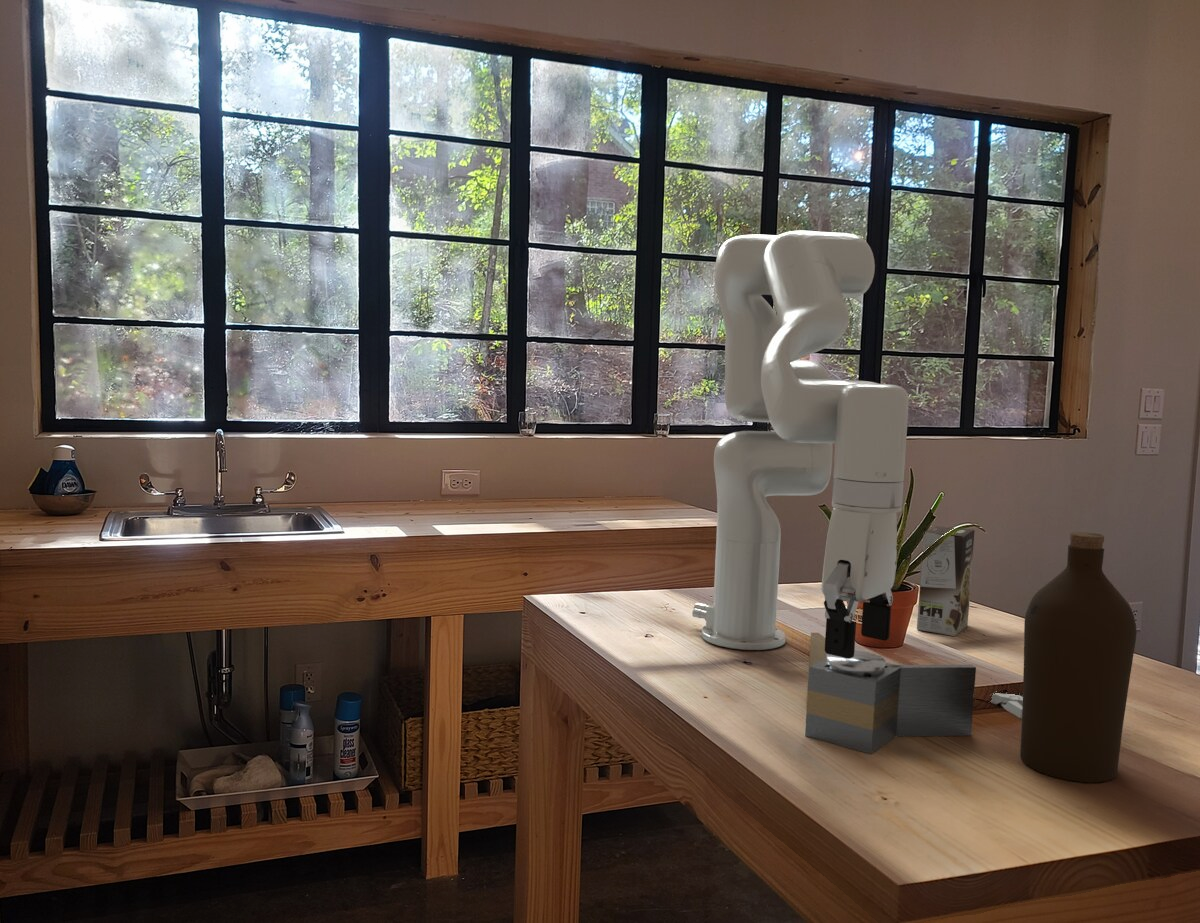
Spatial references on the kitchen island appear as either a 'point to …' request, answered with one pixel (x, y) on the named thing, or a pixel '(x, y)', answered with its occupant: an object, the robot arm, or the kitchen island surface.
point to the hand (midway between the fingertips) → (857, 646)
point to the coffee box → (946, 582)
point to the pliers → (1009, 703)
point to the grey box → (886, 702)
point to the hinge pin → (857, 664)
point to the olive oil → (1077, 669)
